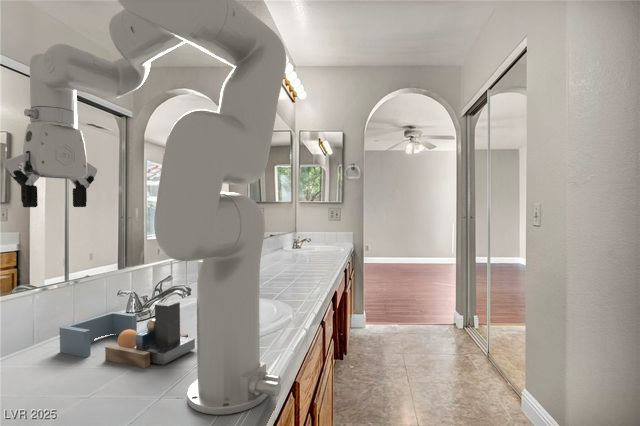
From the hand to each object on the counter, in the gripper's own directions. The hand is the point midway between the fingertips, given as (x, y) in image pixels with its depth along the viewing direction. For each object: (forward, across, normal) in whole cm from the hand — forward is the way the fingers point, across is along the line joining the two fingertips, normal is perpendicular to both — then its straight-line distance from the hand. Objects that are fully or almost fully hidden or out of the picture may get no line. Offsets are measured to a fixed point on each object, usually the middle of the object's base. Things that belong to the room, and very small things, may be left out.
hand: (56, 207), depth 75 cm
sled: (+29, +7, -20) cm, 36 cm away
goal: (+30, +7, -3) cm, 30 cm away
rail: (+30, +7, -16) cm, 34 cm away
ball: (+28, +7, -11) cm, 30 cm away
